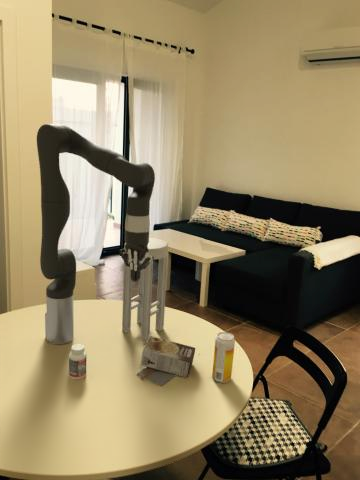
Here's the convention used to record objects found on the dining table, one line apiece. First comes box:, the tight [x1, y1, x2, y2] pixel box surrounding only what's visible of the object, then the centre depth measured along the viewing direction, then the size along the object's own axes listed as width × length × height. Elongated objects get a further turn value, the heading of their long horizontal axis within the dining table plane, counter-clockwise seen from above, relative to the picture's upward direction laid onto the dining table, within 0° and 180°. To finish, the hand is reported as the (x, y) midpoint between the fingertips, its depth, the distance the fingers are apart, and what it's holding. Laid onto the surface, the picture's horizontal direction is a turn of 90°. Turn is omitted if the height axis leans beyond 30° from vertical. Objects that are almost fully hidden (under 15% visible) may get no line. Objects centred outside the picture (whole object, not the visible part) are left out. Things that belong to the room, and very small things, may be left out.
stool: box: [121, 237, 169, 341], centre depth 168 cm, size 16×16×35 cm
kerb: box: [140, 368, 157, 381], centre depth 146 cm, size 1×14×1 cm, turn 146°
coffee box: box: [140, 335, 196, 378], centre depth 147 cm, size 9×6×16 cm
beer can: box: [211, 331, 236, 384], centre depth 142 cm, size 6×6×15 cm
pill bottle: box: [68, 343, 87, 380], centre depth 140 cm, size 5×5×10 cm
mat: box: [136, 366, 177, 387], centre depth 145 cm, size 10×12×1 cm
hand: (135, 280), depth 144 cm, fingers closed
